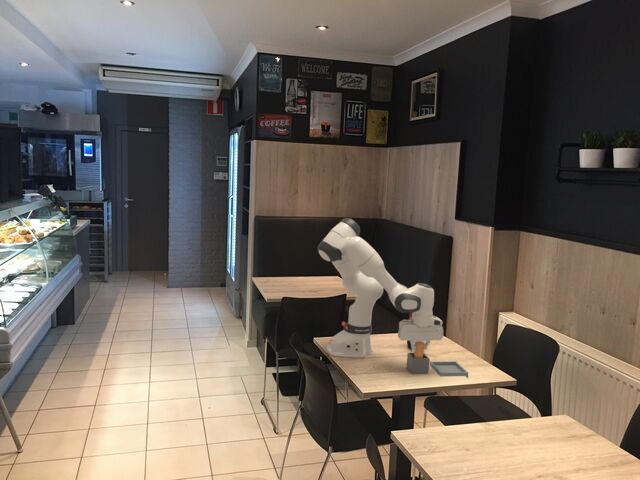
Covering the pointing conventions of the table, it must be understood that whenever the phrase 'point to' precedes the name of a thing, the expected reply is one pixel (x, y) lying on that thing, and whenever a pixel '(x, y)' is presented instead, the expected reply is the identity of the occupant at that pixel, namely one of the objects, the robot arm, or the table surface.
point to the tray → (449, 368)
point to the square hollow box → (418, 364)
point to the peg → (419, 350)
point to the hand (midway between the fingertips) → (419, 349)
